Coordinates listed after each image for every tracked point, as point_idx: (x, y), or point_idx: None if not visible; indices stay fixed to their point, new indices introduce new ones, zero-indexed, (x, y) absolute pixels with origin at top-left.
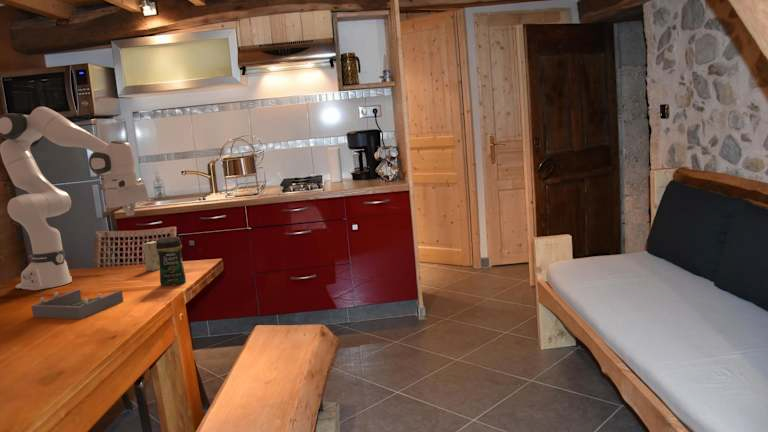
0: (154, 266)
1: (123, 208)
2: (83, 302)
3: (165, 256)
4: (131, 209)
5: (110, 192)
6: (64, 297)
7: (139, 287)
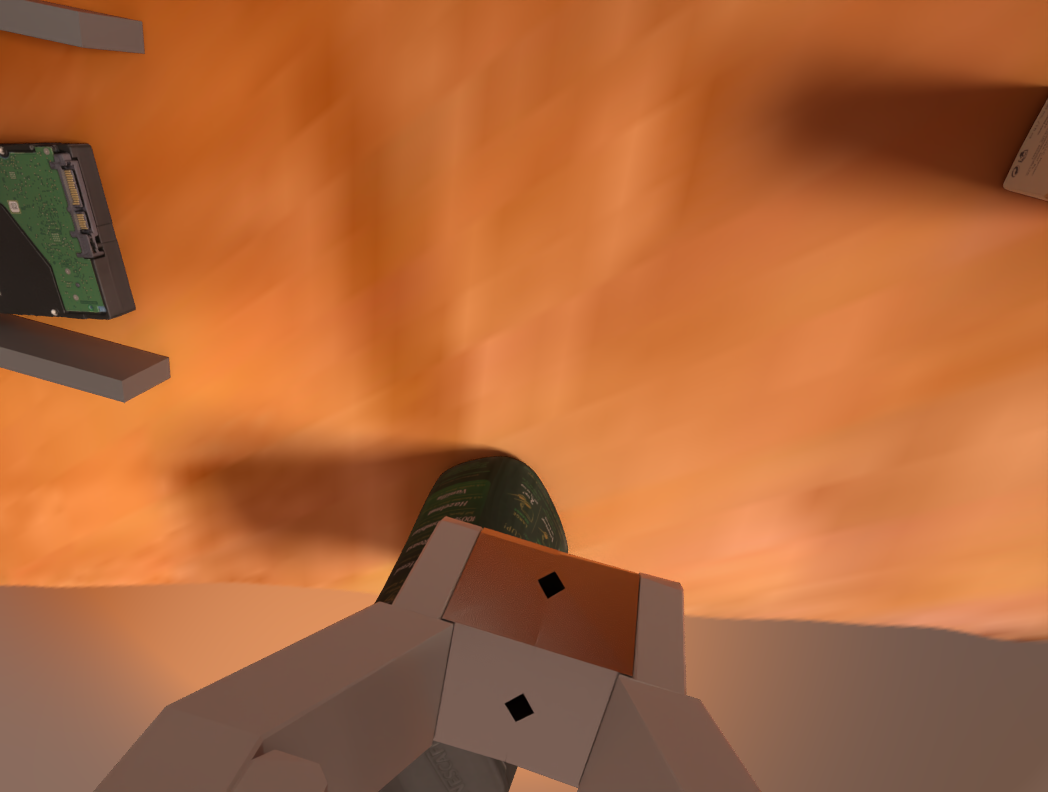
0: (1037, 197)
1: (211, 700)
2: (7, 206)
3: None
4: (616, 783)
5: None
6: None
7: (438, 329)
